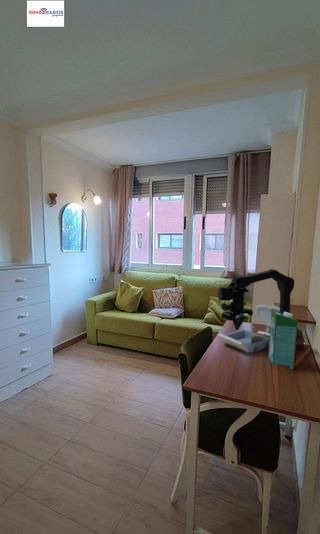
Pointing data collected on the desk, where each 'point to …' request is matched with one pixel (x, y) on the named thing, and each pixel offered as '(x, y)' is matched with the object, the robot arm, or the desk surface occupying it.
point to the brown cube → (256, 339)
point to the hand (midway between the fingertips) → (236, 329)
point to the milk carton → (282, 338)
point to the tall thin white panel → (233, 342)
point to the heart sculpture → (265, 316)
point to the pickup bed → (249, 340)
